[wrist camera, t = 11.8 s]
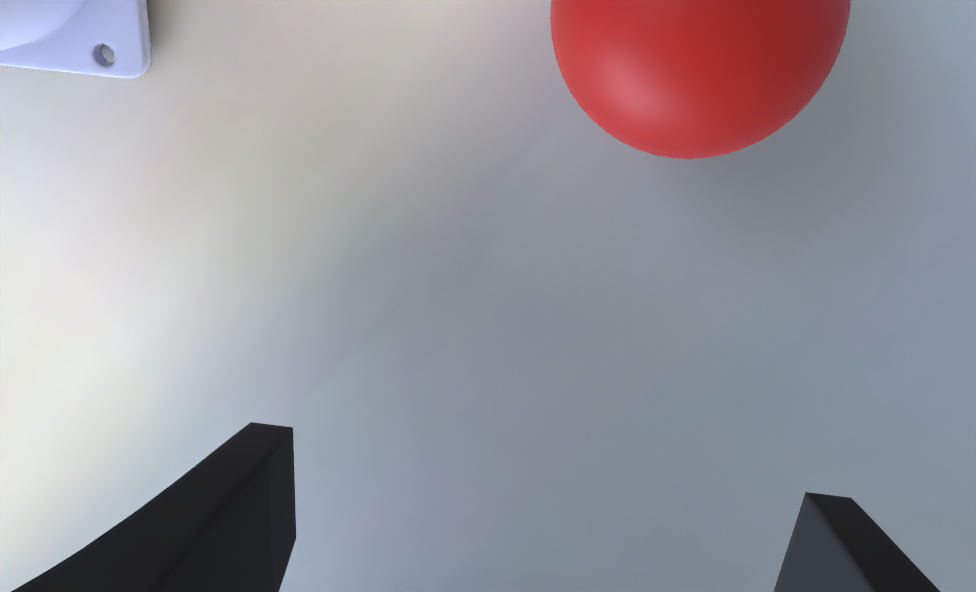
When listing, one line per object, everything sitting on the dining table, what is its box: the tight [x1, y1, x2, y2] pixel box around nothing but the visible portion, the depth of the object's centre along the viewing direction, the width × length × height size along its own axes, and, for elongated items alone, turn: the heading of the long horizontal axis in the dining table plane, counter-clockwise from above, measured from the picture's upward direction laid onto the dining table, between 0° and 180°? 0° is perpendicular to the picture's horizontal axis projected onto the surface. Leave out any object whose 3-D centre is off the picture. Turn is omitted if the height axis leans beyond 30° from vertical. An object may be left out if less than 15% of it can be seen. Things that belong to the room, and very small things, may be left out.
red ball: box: [550, 0, 850, 159], centre depth 16 cm, size 5×5×6 cm
